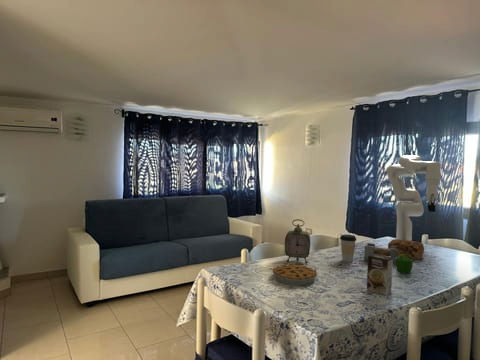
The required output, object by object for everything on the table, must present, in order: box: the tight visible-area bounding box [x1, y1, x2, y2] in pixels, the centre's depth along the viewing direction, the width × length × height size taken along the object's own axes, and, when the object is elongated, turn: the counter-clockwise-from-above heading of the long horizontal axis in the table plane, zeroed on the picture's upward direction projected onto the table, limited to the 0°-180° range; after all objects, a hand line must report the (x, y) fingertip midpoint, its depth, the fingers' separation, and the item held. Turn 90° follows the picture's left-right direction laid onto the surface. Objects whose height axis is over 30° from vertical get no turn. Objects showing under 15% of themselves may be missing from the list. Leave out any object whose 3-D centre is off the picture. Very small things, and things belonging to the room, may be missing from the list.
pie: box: [272, 263, 318, 286], centre depth 167 cm, size 22×22×5 cm
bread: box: [387, 238, 425, 260], centre depth 213 cm, size 19×11×10 cm, turn 39°
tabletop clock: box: [284, 218, 311, 264], centre depth 196 cm, size 14×9×25 cm, turn 76°
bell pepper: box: [395, 254, 414, 275], centre depth 179 cm, size 8×8×10 cm
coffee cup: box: [339, 234, 357, 263], centre depth 199 cm, size 9×9×15 cm
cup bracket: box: [363, 242, 376, 262], centre depth 203 cm, size 9×5×9 cm, turn 154°
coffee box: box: [366, 254, 394, 296], centre depth 152 cm, size 9×6×16 cm
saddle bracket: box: [389, 246, 397, 266], centre depth 197 cm, size 9×3×9 cm, turn 154°
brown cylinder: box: [374, 246, 399, 258], centre depth 199 cm, size 16×4×4 cm, turn 64°
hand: (431, 210), depth 201 cm, fingers open, 9 cm apart
